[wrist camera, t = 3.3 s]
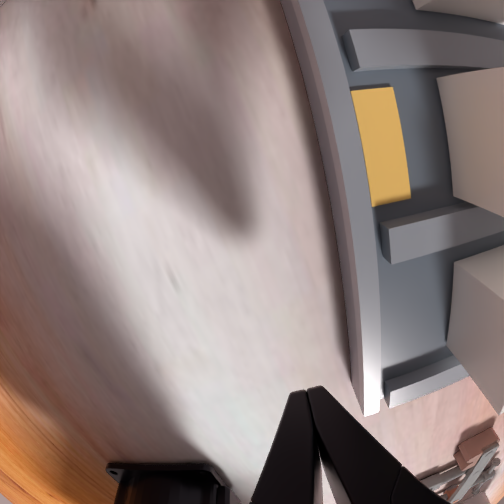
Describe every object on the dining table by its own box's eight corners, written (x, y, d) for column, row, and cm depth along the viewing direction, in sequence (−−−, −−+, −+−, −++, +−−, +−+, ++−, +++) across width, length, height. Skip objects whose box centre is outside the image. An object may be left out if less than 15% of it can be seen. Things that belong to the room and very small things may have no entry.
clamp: (431, 479, 13) (539, 416, 13) (421, 455, 15) (526, 399, 15) (400, 533, 19) (482, 495, 18) (395, 517, 21) (476, 481, 20)
